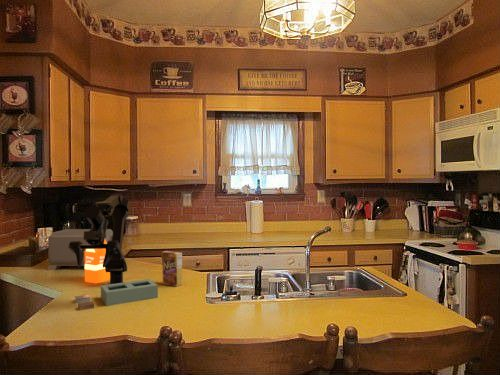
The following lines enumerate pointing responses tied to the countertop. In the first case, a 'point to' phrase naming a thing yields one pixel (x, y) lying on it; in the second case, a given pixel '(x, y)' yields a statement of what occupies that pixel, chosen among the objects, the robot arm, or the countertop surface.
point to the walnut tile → (86, 305)
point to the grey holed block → (128, 292)
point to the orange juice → (95, 265)
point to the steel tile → (82, 298)
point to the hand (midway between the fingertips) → (91, 267)
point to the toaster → (61, 252)
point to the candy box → (172, 268)
